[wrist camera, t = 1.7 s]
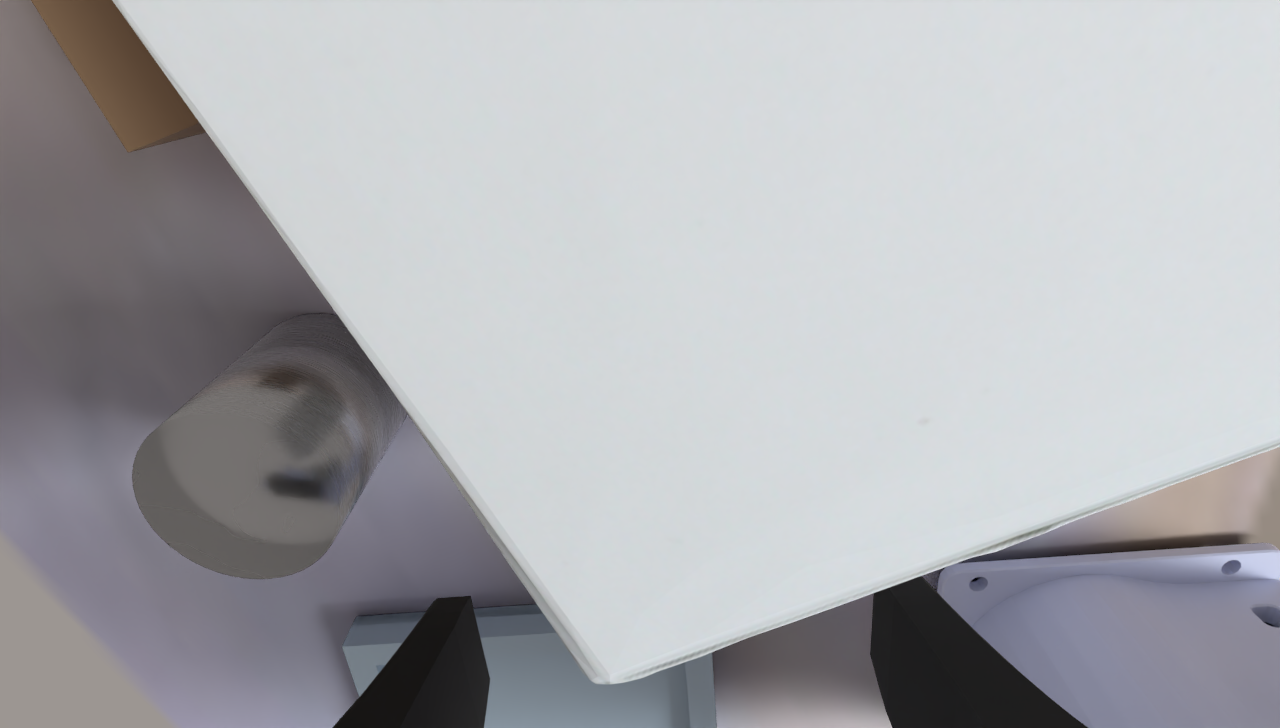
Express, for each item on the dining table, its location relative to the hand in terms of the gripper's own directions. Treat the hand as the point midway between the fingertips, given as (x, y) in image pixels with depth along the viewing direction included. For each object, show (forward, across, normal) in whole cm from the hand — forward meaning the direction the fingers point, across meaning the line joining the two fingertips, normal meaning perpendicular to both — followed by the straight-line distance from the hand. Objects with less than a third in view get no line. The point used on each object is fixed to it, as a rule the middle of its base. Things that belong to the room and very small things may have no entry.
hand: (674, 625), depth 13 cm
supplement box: (+7, -2, -9) cm, 12 cm away
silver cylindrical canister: (+7, +8, -2) cm, 11 cm away
